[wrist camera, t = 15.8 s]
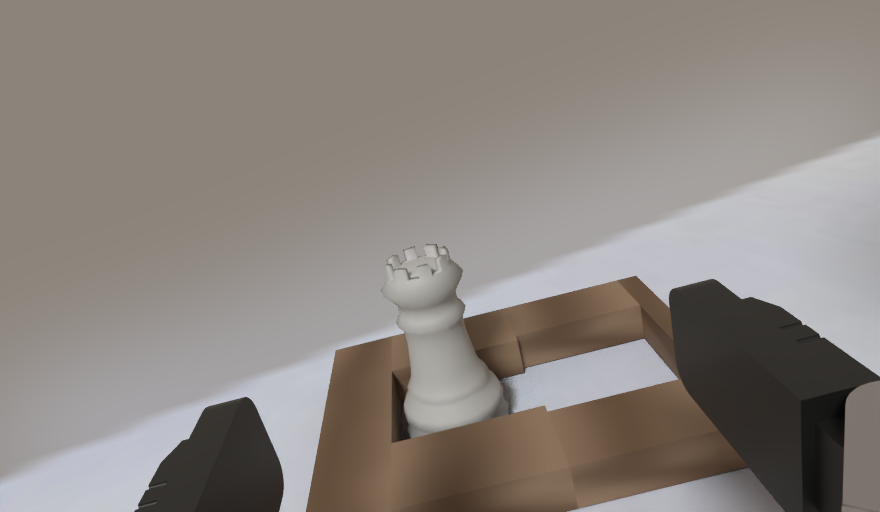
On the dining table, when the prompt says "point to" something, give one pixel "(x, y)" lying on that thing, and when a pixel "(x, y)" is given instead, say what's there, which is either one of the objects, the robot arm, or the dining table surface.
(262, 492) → the robot arm
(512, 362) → the rectangular wooden frame
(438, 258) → the rook chess piece
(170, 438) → the dining table surface
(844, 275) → the dining table surface
